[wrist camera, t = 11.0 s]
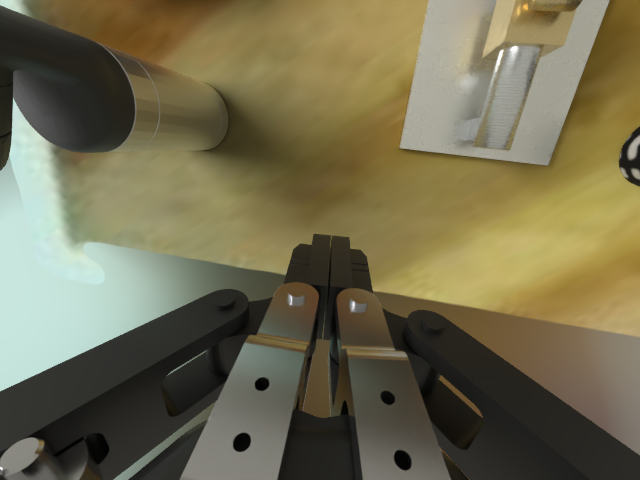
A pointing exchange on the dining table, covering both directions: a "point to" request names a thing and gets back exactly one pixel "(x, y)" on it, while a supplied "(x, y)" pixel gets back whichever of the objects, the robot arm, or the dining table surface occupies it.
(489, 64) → the valve stand
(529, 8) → the lever
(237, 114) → the dining table surface
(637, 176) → the white-spotted black cylinder
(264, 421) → the robot arm
